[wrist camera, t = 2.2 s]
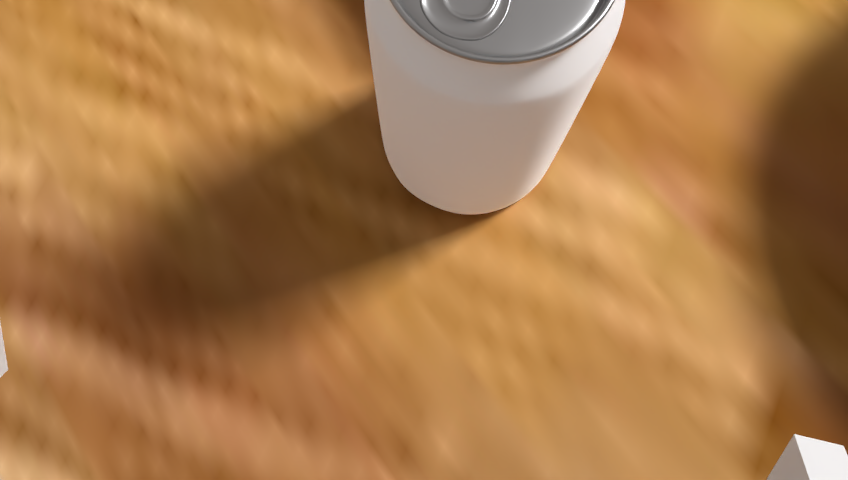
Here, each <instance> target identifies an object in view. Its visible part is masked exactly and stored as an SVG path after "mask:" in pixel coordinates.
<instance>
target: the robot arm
mask: <svg viewBox="0 0 848 480" xmlns="http://www.w3.org/2000/svg"><path fill="white" fill-rule="evenodd" d="M7 370H8V366H7V360H6V354H5V348H4V342H3V336H2V330H1V324H0V377H1V376H2V375H3V374H4V373H5V372H6V371H7ZM766 480H848V455H847V453H846V450H845V448H844V446H842V445H838V444H834V443H830V442H825V441H821V440H817V439H813V438H809V437H804V436H800V435H796V434H794V435H793V437H792V439H791V440H790V442H789V443H788V445H787V447H786V448H785V450H784V452H783V453H782V455H781V457H780V458H779V460H778V461H777V463H776V465H775V466H774V468H773V470H772V471H771V473H770V475H769V476H768V478H767V479H766Z"/></svg>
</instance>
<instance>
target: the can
mask: <svg viewBox="0 0 848 480" xmlns="http://www.w3.org/2000/svg"><path fill="white" fill-rule="evenodd" d="M364 5H365V16H366V24H367V33H368V41H369V48H370V56H371V64H372V71H373V78H374V86H375V93H376V100H377V107H378V114H379V121H380V127H381V133H382V139H383V144H384V149H385V153H386V156H387V158H388V161H389V163H390V165H391V167H392V169H393V171H394V173H395V175H396V176H397V178H398V179H399V181H400V182H401V183H402V185H403V186H404V187H405V188H406V189H407V190H408V191H409V192H411V193H412V194H413V195H414V196H416V197H417V198H419V199H421V200H422V201H424V202H426V203H428V204H430V205H432V206H434V207H437V208H440V209H442V210H445V211H449V212H453V213H458V214H484V213H489V212H493V211H497V210H500V209H503V208H505V207H508V206H510V205H512V204H513V203H515V202H517V201H519V200H520V199H521V198H523V197H524V196H526V195H527V194H528V193H529V192H530V191H531V190H532V189H533V188H534V187H535V186H536V185H537V184H538V183H539V181H540V180H541V179H542V177H543V176H544V174H545V173H546V171H547V170H548V168H549V166H550V164H551V163H552V161H553V159H554V157H555V155H556V153H557V152H558V150H559V148H560V146H561V144H562V142H563V140H564V139H565V137H566V135H567V133H568V131H569V129H570V127H571V125H572V123H573V122H574V120H575V118H576V116H577V114H578V112H579V110H580V108H581V106H582V104H583V103H584V101H585V99H586V97H587V95H588V93H589V91H590V89H591V87H592V85H593V83H594V81H595V79H596V77H597V76H598V74H599V72H600V70H601V68H602V66H603V64H604V62H605V60H606V58H607V56H608V54H609V52H610V49H611V47H612V45H613V43H614V41H615V38H616V36H617V33H618V30H619V27H620V24H621V20H622V16H623V12H624V6H625V0H364Z"/></svg>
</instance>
